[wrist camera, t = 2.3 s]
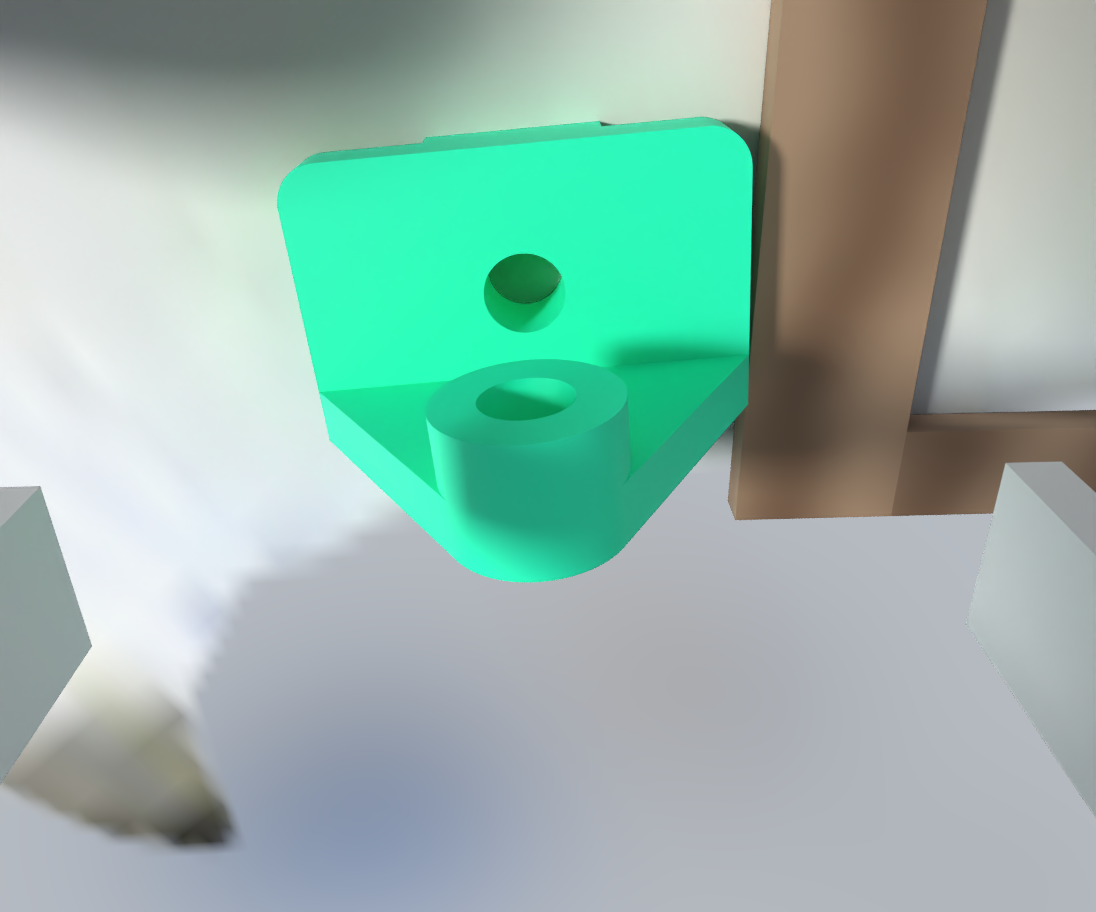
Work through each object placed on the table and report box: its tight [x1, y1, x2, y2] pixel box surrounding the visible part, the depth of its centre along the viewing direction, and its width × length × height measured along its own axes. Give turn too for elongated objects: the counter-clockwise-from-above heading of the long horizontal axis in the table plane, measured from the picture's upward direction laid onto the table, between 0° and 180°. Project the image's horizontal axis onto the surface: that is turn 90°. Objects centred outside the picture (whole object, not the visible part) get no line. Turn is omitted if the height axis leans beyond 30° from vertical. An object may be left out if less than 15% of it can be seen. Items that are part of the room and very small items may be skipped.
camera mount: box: [277, 117, 753, 582], centre depth 22 cm, size 12×8×10 cm, turn 95°
